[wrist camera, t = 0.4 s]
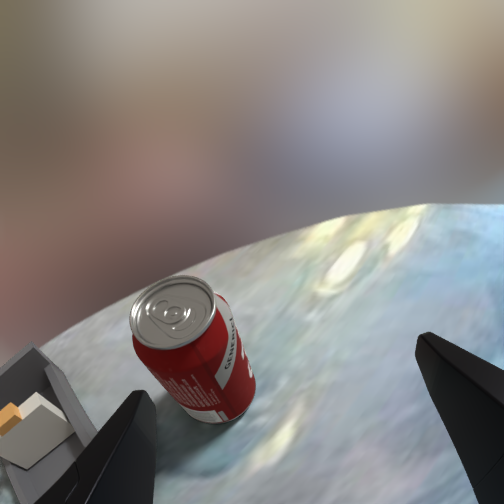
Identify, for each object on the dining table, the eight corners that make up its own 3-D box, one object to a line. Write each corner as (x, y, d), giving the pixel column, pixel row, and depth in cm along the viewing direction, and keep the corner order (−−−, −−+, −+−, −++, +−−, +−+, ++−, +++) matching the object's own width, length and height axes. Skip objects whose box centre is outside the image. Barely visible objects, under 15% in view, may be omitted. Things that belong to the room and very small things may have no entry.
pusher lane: (157, 511, 18) (120, 503, 14) (76, 565, 13) (29, 561, 9) (63, 371, 30) (31, 341, 26) (3, 421, 24) (-32, 396, 21)
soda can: (229, 440, 23) (177, 378, 15) (168, 402, 26) (101, 325, 18) (271, 377, 27) (248, 287, 19) (210, 348, 30) (167, 257, 22)
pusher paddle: (78, 428, 23) (34, 398, 19) (27, 469, 20) (-21, 445, 15) (71, 417, 24) (29, 386, 20) (22, 458, 21) (-24, 432, 16)
